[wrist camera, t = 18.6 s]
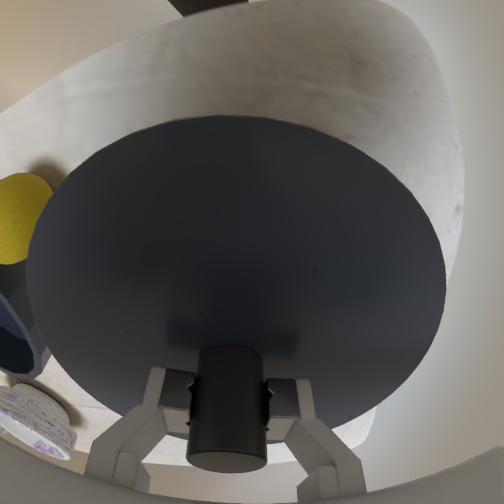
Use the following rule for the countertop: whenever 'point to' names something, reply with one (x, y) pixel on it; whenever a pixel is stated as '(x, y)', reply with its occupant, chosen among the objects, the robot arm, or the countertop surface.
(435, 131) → the countertop surface
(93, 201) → the lid
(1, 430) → the frog figurine
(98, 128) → the countertop surface
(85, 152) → the countertop surface
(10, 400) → the paper bowls
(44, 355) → the pot
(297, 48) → the countertop surface
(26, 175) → the lemon
